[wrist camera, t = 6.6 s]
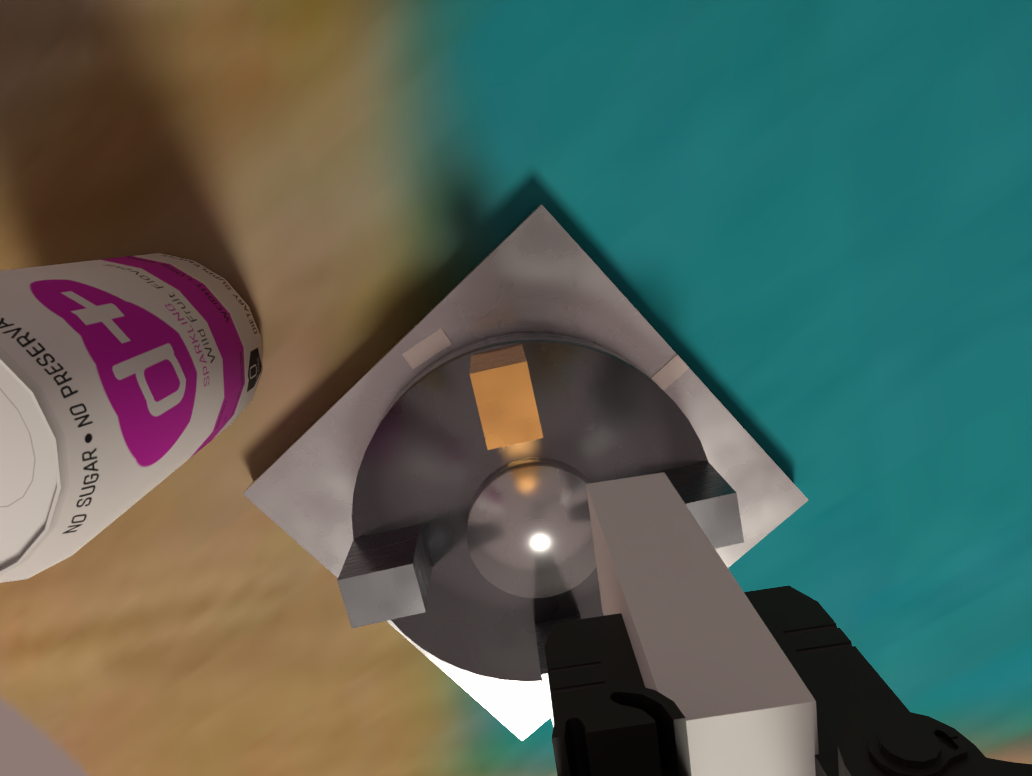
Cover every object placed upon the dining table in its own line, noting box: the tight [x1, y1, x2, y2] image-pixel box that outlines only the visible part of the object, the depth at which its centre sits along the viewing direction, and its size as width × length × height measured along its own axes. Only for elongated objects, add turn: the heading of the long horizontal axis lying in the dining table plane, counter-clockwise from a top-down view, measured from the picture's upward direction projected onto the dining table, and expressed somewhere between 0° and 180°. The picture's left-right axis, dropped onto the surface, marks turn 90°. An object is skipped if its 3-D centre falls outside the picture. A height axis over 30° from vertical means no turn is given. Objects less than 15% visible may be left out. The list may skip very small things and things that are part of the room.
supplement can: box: [0, 253, 263, 583], centre depth 24 cm, size 8×8×15 cm
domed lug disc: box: [337, 333, 744, 727], centre depth 29 cm, size 15×15×6 cm
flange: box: [243, 205, 808, 741], centre depth 33 cm, size 18×18×2 cm
